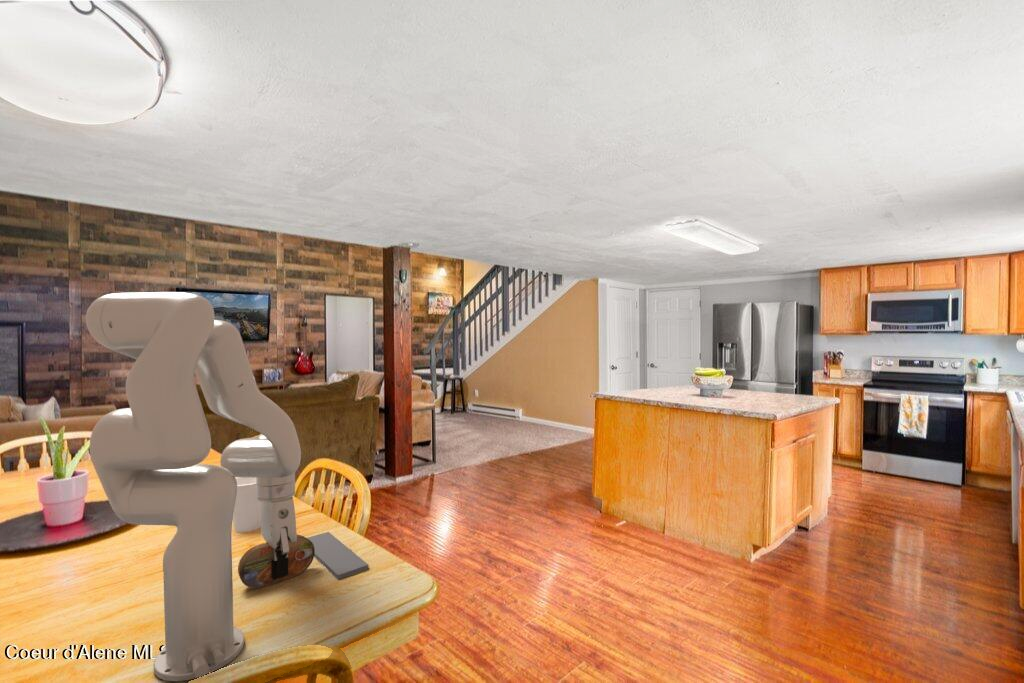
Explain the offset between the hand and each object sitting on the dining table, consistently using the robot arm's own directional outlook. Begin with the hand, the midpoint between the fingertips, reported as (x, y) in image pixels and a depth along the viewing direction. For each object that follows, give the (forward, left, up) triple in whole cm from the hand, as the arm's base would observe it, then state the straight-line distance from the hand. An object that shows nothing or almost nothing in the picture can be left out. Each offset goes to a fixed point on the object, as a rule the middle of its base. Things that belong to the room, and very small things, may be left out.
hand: (277, 573), depth 106 cm
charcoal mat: (+3, -13, -1) cm, 14 cm away
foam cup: (+35, -2, -1) cm, 35 cm away
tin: (0, 0, -1) cm, 1 cm away
